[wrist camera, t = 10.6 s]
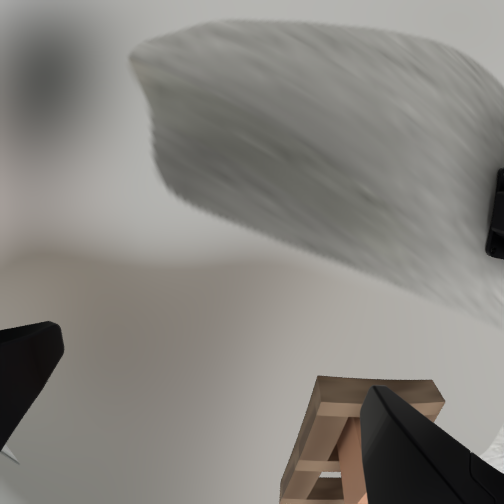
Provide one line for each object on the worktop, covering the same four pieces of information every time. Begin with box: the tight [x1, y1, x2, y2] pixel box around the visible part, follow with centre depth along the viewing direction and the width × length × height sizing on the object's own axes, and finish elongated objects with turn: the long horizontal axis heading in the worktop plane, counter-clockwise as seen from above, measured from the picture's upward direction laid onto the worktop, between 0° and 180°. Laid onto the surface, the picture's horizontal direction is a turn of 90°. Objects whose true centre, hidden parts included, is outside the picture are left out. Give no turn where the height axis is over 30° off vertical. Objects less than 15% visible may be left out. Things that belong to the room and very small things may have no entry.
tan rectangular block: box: [337, 417, 368, 504], centre depth 17 cm, size 4×4×9 cm
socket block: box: [279, 376, 445, 504], centre depth 20 cm, size 10×15×3 cm
